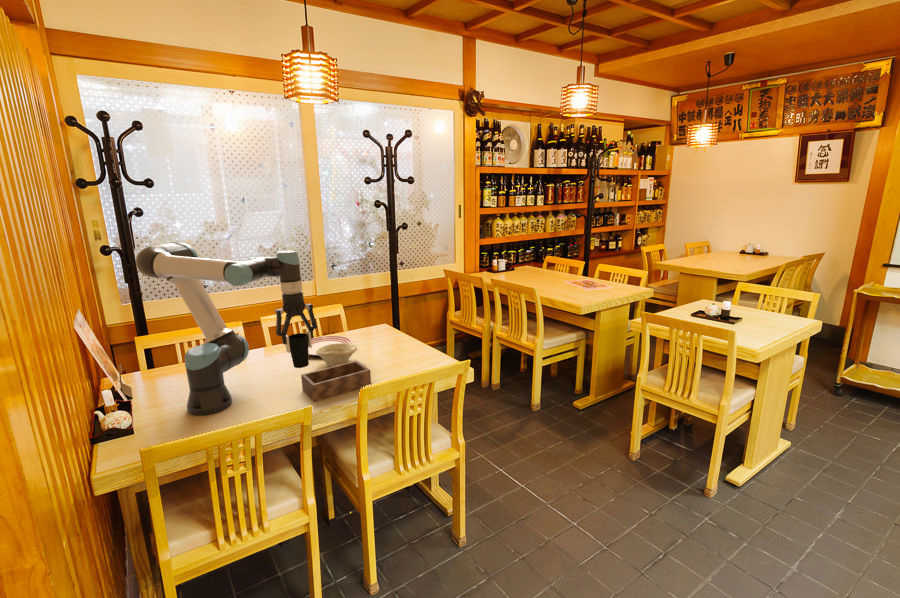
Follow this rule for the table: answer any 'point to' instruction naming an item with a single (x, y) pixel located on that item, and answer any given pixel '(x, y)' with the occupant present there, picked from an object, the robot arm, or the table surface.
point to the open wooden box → (335, 380)
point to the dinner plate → (326, 342)
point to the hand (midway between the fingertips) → (299, 349)
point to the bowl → (336, 353)
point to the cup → (299, 349)
